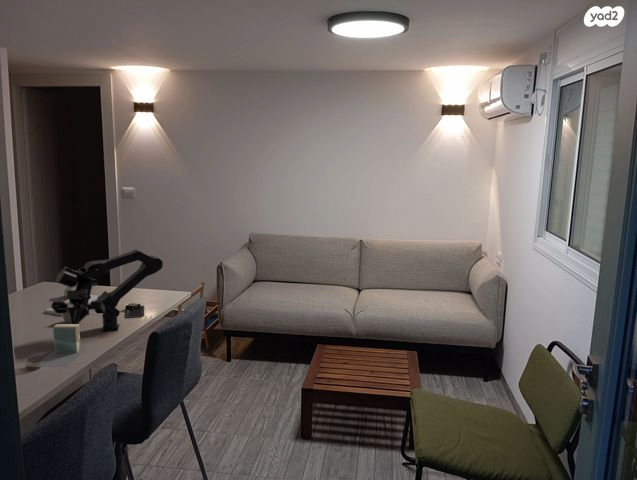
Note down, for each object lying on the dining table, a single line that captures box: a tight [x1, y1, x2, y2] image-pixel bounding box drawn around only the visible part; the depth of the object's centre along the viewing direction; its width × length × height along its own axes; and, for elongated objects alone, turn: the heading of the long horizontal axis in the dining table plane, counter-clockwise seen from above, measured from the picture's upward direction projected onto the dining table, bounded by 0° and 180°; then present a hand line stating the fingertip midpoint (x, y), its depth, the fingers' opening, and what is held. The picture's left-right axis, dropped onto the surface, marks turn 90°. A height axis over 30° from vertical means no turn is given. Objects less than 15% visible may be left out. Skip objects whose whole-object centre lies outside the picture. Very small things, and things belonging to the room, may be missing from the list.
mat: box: [35, 347, 87, 368], centre depth 180 cm, size 16×11×1 cm
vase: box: [62, 303, 77, 324], centre depth 215 cm, size 7×7×9 cm
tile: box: [52, 323, 82, 353], centre depth 183 cm, size 3×8×10 cm, turn 94°
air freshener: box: [63, 284, 77, 297], centre depth 250 cm, size 11×8×10 cm
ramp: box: [43, 294, 100, 317], centre depth 233 cm, size 28×16×5 cm, turn 119°
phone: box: [125, 305, 145, 319], centre depth 230 cm, size 8×1×15 cm
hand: (73, 327), depth 190 cm, fingers closed
